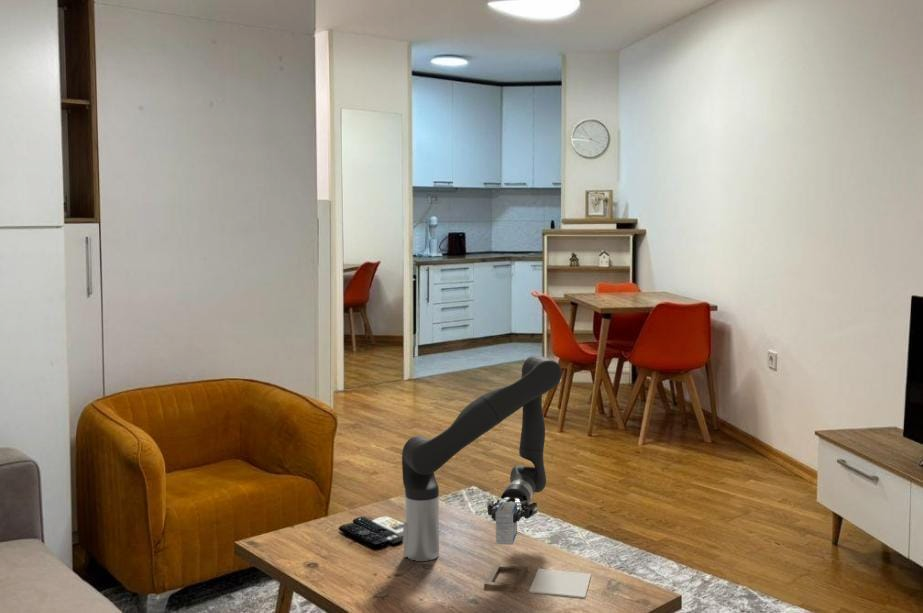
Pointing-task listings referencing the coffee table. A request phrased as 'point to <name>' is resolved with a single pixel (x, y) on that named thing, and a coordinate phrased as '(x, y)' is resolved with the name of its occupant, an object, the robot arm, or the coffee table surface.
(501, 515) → the medicine box
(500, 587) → the box holder
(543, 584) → the grey mat
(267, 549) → the coffee table surface
